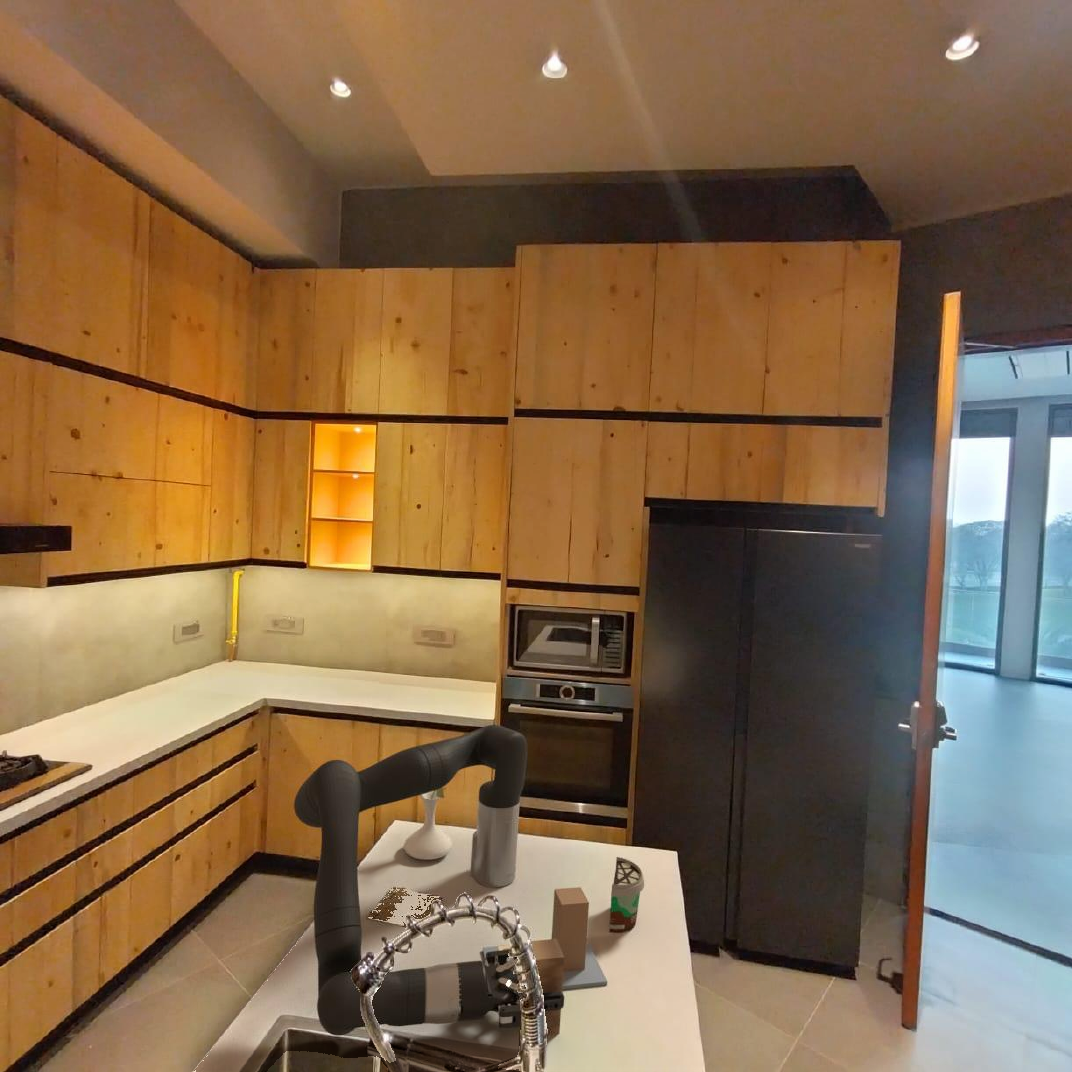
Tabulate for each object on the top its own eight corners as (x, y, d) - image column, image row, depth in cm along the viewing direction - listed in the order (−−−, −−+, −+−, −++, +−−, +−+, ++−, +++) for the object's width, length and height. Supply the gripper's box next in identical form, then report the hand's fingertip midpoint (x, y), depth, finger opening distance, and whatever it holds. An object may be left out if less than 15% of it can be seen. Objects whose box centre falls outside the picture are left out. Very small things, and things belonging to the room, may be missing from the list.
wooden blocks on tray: (493, 996, 109) (498, 922, 109) (482, 950, 121) (486, 883, 121) (607, 984, 114) (611, 912, 114) (586, 941, 125) (590, 876, 125)
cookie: (422, 932, 126) (422, 927, 126) (364, 920, 128) (365, 915, 128) (445, 899, 137) (445, 895, 137) (391, 889, 140) (391, 884, 140)
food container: (640, 942, 126) (643, 891, 126) (608, 936, 127) (611, 885, 127) (643, 907, 138) (646, 860, 138) (613, 902, 139) (616, 855, 139)
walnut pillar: (530, 1036, 101) (535, 959, 101) (524, 1015, 106) (528, 941, 105) (559, 1033, 102) (564, 957, 102) (551, 1011, 107) (556, 938, 107)
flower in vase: (398, 844, 158) (404, 742, 158) (444, 838, 163) (450, 738, 163) (411, 872, 146) (417, 760, 146) (459, 864, 151) (466, 756, 151)
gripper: (447, 984, 107) (544, 974, 111) (457, 1053, 94) (567, 1039, 97) (450, 938, 107) (546, 930, 111) (461, 1001, 94) (570, 989, 97)
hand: (556, 981), depth 104 cm, fingers open, 8 cm apart
